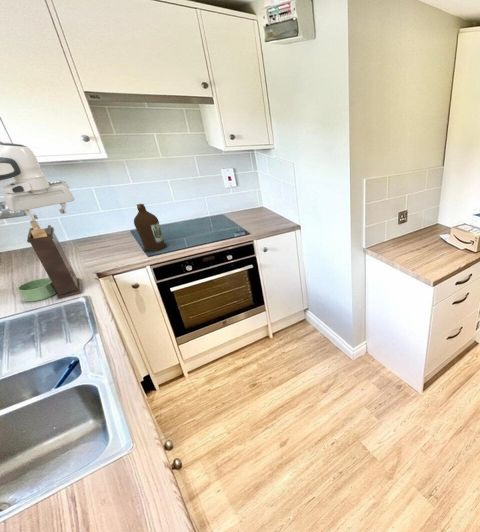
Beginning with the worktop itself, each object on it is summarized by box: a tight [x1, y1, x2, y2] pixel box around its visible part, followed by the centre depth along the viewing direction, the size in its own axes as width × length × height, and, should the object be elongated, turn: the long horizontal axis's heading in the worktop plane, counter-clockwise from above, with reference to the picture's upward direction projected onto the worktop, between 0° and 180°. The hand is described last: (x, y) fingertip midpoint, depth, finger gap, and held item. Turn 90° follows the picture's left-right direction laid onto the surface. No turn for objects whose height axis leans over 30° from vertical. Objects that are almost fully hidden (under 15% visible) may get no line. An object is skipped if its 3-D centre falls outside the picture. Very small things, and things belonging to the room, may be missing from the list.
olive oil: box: [133, 203, 167, 252], centre depth 173 cm, size 11×11×25 cm
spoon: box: [29, 219, 47, 239], centre depth 130 cm, size 4×23×2 cm, turn 50°
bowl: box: [16, 277, 58, 302], centre depth 133 cm, size 10×10×6 cm
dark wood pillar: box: [26, 224, 82, 300], centre depth 133 cm, size 7×15×27 cm, turn 43°
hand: (49, 216), depth 140 cm, fingers open, 8 cm apart
